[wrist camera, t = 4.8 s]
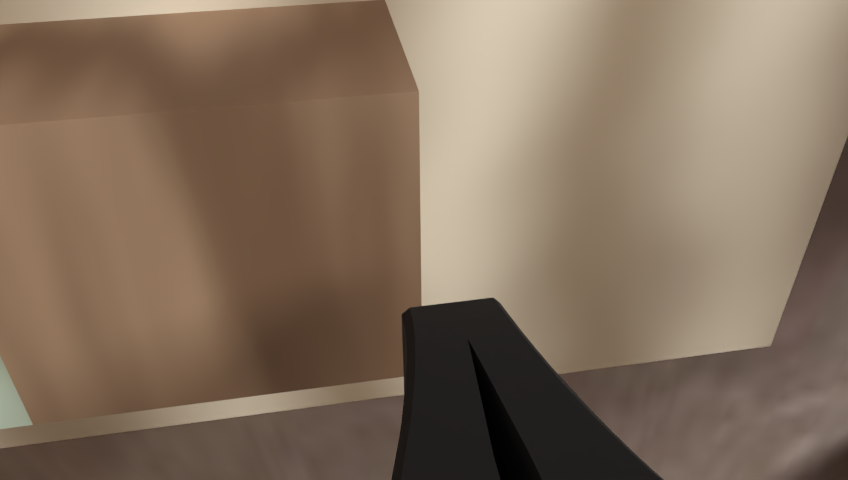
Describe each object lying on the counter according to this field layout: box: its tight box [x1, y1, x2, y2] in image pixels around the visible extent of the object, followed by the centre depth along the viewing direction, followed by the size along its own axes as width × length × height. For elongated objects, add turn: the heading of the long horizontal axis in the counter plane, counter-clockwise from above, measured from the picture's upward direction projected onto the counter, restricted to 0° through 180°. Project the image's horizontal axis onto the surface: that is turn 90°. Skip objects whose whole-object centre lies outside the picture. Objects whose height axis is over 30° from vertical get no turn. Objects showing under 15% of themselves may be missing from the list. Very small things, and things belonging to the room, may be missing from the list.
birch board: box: [0, 0, 848, 448], centre depth 16 cm, size 24×16×1 cm, turn 91°
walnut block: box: [0, 0, 422, 429], centre depth 14 cm, size 4×6×8 cm
